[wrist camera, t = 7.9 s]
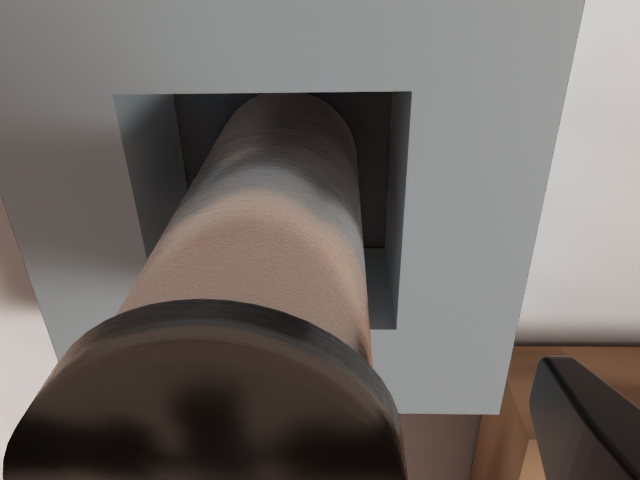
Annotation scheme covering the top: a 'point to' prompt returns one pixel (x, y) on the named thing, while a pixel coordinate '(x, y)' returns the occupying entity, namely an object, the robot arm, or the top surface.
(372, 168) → the top surface
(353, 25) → the socket block
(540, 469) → the pin mount
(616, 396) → the robot arm
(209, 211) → the lock pin
